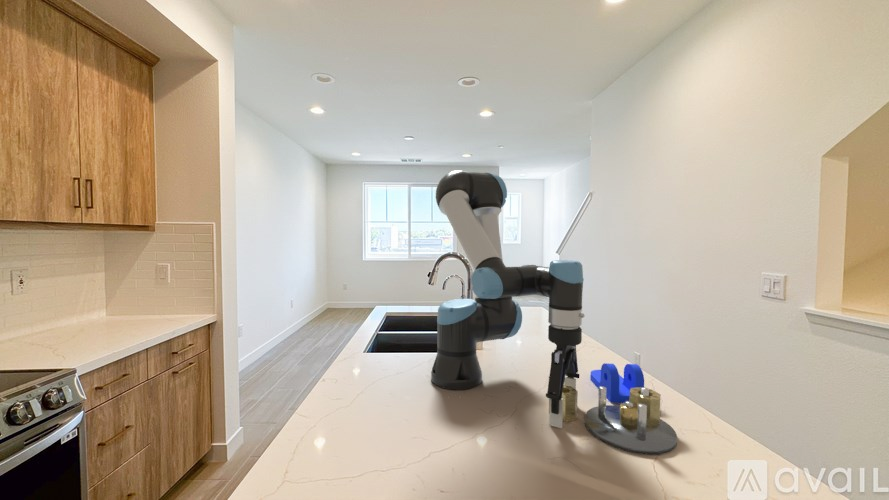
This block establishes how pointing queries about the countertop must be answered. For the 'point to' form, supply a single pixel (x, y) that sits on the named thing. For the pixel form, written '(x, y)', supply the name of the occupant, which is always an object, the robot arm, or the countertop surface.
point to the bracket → (618, 381)
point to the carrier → (632, 423)
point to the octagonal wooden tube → (569, 403)
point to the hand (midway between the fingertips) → (563, 414)
